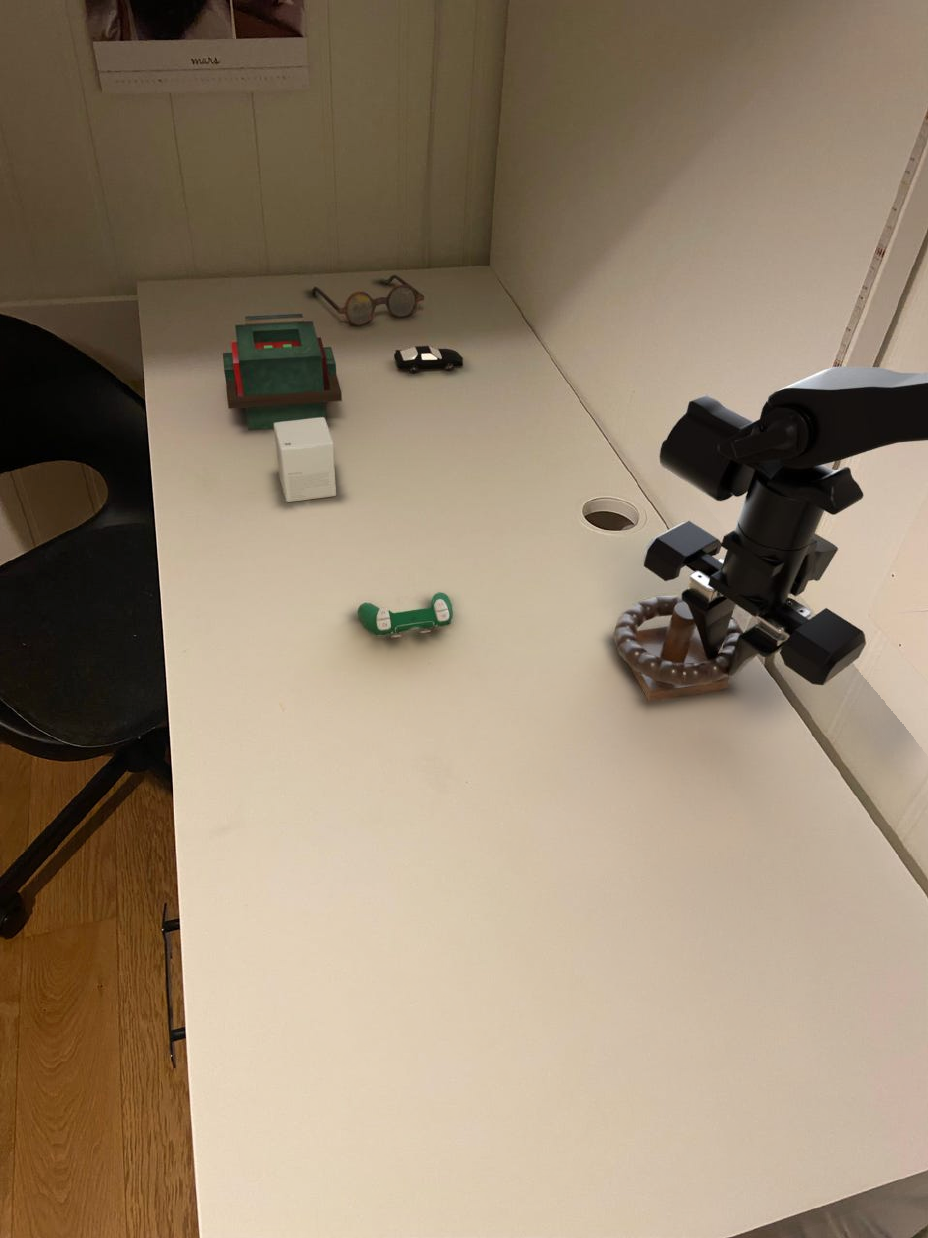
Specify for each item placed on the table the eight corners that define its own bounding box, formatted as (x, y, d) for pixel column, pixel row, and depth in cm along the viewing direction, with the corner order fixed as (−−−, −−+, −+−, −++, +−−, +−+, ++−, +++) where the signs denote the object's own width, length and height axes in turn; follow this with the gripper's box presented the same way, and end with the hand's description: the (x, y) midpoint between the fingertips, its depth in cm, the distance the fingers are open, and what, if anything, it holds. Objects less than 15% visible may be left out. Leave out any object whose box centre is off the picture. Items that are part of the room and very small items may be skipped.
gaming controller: (361, 641, 84) (368, 641, 78) (355, 604, 84) (362, 601, 78) (450, 628, 86) (463, 627, 80) (444, 591, 86) (457, 588, 80)
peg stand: (689, 631, 85) (707, 577, 80) (726, 688, 80) (747, 634, 75) (616, 641, 84) (630, 587, 79) (648, 701, 78) (665, 647, 73)
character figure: (339, 313, 120) (360, 381, 106) (295, 390, 126) (309, 463, 112) (247, 263, 112) (257, 328, 98) (205, 347, 118) (208, 420, 104)
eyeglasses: (340, 329, 132) (339, 297, 128) (306, 293, 141) (303, 262, 137) (424, 314, 137) (424, 283, 134) (385, 280, 146) (385, 251, 143)
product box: (337, 497, 99) (334, 443, 94) (285, 504, 97) (279, 449, 92) (328, 469, 103) (325, 416, 98) (278, 475, 102) (272, 421, 97)
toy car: (459, 357, 127) (460, 340, 125) (465, 370, 124) (466, 353, 122) (393, 361, 124) (393, 344, 123) (398, 374, 122) (398, 357, 120)
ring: (765, 639, 80) (769, 623, 79) (703, 709, 73) (706, 692, 72) (655, 592, 86) (657, 577, 85) (589, 652, 80) (590, 636, 78)
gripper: (938, 552, 64) (861, 688, 75) (741, 444, 74) (698, 578, 85) (858, 609, 59) (788, 748, 70) (658, 484, 69) (623, 622, 80)
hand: (722, 666), depth 76 cm, fingers closed on ring, 2 cm apart
